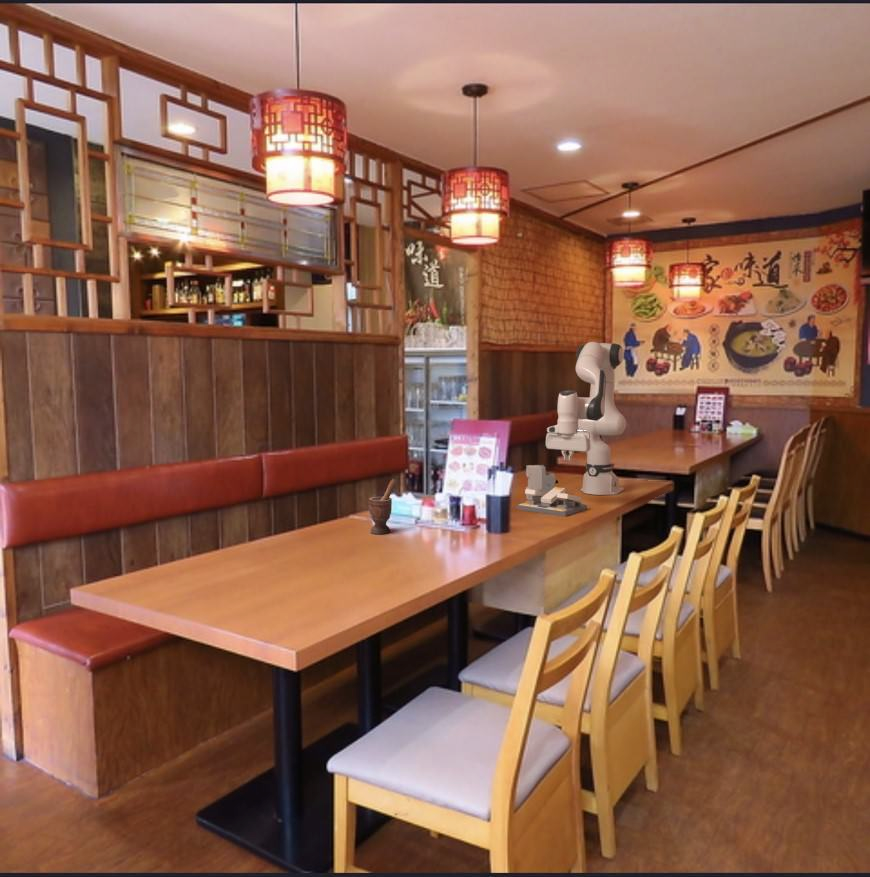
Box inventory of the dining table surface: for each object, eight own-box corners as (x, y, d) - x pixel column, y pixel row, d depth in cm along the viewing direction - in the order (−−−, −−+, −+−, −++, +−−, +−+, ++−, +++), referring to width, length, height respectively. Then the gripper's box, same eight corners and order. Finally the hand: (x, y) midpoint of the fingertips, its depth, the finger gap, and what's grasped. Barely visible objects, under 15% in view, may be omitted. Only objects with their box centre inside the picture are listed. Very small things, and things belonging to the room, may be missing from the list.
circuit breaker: (558, 499, 339) (558, 467, 337) (527, 499, 339) (527, 467, 338) (556, 496, 346) (556, 465, 345) (526, 496, 347) (526, 465, 345)
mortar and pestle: (384, 527, 288) (383, 476, 286) (401, 529, 283) (400, 478, 281) (365, 533, 278) (363, 481, 276) (382, 536, 273) (381, 483, 271)
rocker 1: (539, 496, 329) (540, 491, 329) (549, 497, 326) (549, 492, 326) (525, 493, 320) (525, 488, 320) (534, 494, 316) (535, 489, 317)
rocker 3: (570, 500, 318) (571, 495, 319) (580, 502, 315) (581, 497, 315) (556, 497, 309) (557, 492, 310) (567, 498, 306) (567, 493, 306)
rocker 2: (555, 491, 324) (554, 486, 323) (565, 492, 320) (564, 488, 320) (541, 502, 315) (540, 497, 315) (551, 503, 312) (550, 499, 311)
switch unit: (539, 502, 332) (539, 492, 332) (586, 509, 316) (587, 498, 316) (517, 509, 318) (517, 498, 318) (565, 516, 303) (565, 505, 302)
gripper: (593, 429, 310) (593, 461, 312) (551, 426, 323) (551, 457, 325) (586, 430, 305) (585, 463, 307) (543, 428, 318) (543, 459, 320)
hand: (567, 460), depth 316 cm, fingers closed
